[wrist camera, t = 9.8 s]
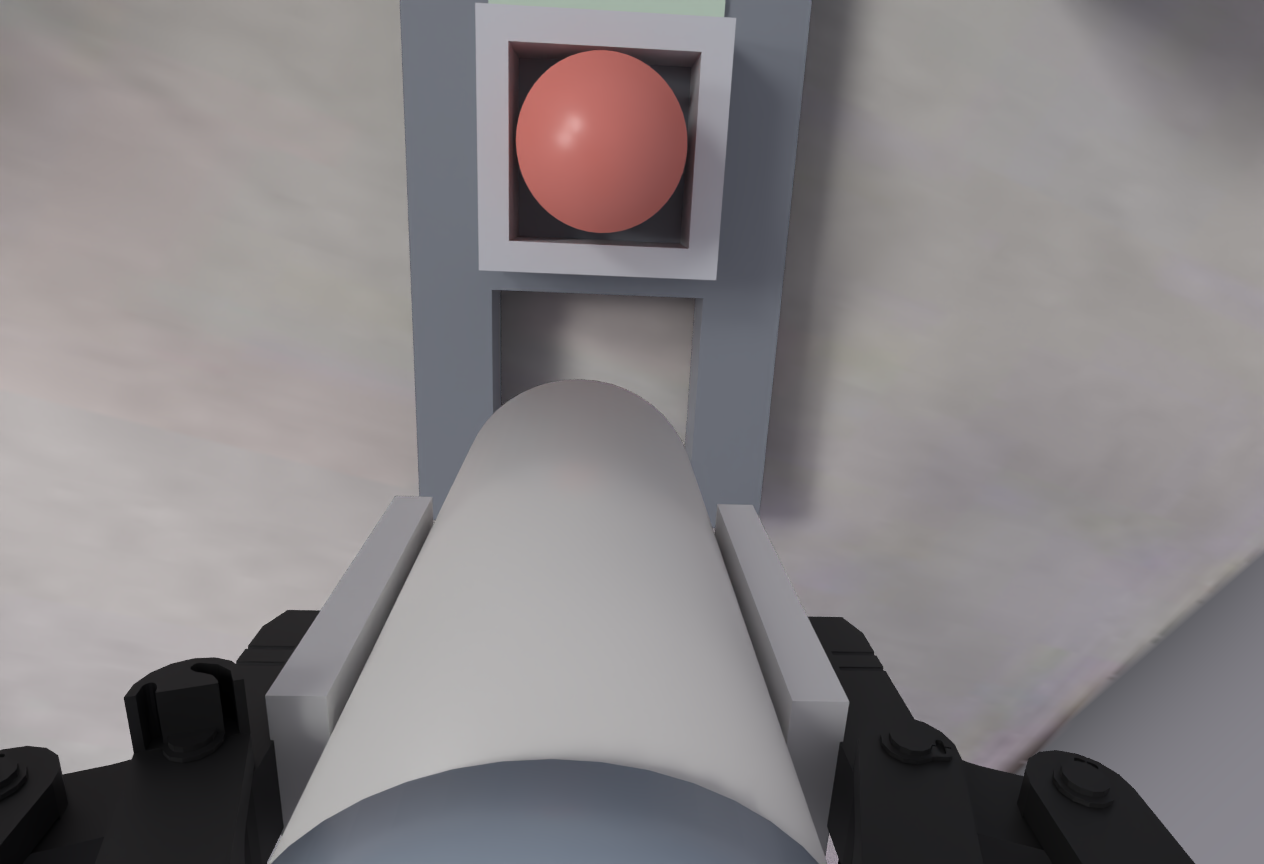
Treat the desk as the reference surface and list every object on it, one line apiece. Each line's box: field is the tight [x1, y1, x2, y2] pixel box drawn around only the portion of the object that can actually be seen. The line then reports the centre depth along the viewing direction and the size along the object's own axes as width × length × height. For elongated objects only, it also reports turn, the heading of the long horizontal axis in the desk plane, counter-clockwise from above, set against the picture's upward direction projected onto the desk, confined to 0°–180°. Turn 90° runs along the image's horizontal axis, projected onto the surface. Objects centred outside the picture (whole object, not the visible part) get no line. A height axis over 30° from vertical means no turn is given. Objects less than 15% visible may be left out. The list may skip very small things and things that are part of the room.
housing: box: [400, 0, 812, 528], centre depth 28 cm, size 14×27×6 cm, turn 177°
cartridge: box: [269, 379, 827, 864], centre depth 13 cm, size 6×6×15 cm
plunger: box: [516, 50, 687, 233], centre depth 25 cm, size 5×5×5 cm
